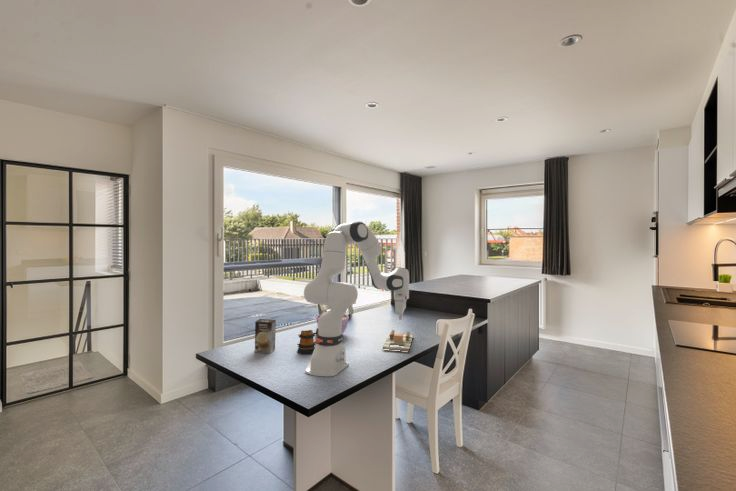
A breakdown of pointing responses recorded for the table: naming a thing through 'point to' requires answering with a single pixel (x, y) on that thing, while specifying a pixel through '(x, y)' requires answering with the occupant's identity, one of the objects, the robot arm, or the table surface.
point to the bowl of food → (344, 321)
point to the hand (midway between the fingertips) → (400, 319)
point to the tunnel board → (406, 343)
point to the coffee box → (265, 335)
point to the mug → (307, 342)
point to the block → (398, 338)
